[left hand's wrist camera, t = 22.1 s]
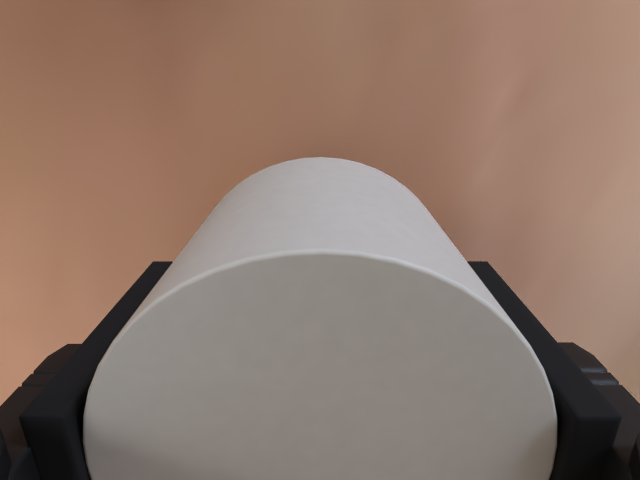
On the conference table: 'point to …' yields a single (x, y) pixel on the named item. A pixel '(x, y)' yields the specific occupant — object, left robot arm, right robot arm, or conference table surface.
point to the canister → (320, 348)
